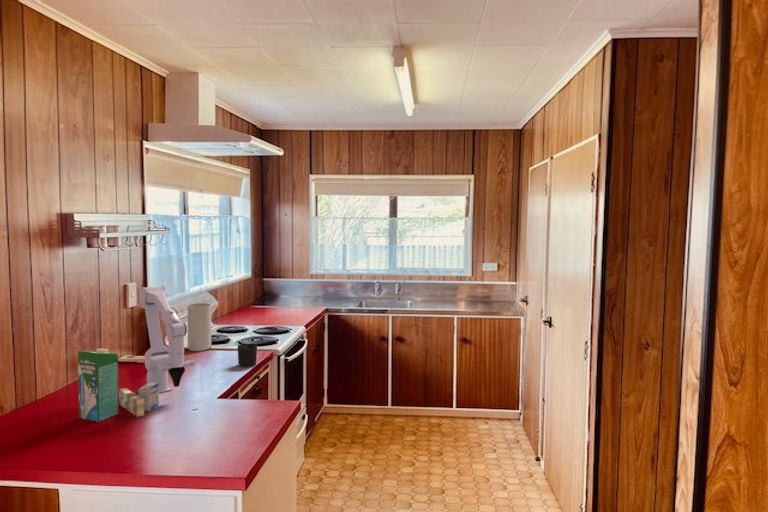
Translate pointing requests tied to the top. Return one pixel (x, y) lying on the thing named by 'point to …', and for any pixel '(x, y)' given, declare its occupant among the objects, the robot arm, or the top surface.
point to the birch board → (131, 402)
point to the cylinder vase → (199, 326)
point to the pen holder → (247, 354)
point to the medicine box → (149, 395)
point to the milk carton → (98, 384)
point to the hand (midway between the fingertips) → (176, 386)
